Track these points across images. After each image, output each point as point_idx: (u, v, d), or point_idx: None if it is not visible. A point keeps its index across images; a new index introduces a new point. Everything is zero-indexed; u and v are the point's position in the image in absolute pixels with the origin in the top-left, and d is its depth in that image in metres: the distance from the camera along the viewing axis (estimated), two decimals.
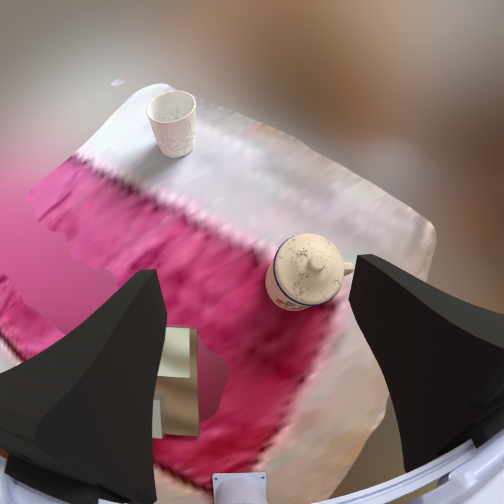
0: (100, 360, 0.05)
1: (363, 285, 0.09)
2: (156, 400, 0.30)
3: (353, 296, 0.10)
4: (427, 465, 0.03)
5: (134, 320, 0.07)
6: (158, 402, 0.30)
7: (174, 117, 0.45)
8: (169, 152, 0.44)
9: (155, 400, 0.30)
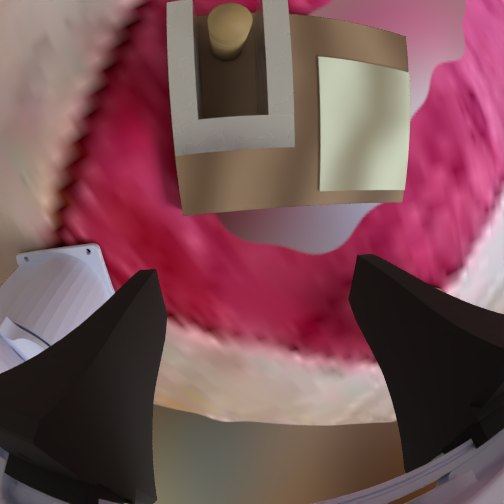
0: (100, 360, 0.05)
1: (363, 285, 0.09)
2: (292, 138, 0.12)
3: (353, 296, 0.10)
4: (427, 465, 0.03)
5: (134, 320, 0.07)
6: (287, 143, 0.12)
7: None
8: None
9: (292, 135, 0.12)
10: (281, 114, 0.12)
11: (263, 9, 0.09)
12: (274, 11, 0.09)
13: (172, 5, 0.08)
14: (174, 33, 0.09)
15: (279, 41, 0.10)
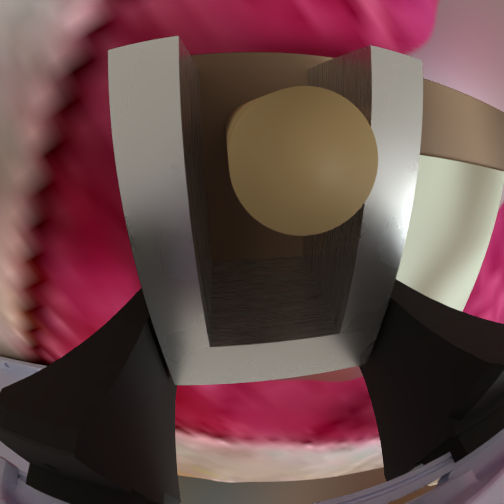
0: (131, 362, 0.05)
1: None
2: (365, 354, 0.07)
3: None
4: (427, 465, 0.03)
5: None
6: (356, 362, 0.07)
7: None
8: None
9: (366, 352, 0.07)
10: (361, 330, 0.07)
11: (371, 88, 0.04)
12: (396, 99, 0.04)
13: (122, 58, 0.03)
14: (133, 153, 0.04)
15: (395, 185, 0.05)
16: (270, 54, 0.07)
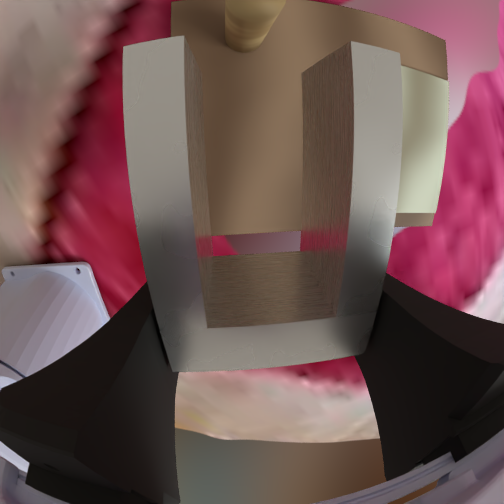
0: (131, 362, 0.05)
1: None
2: (363, 342, 0.07)
3: None
4: (427, 465, 0.03)
5: None
6: (355, 351, 0.07)
7: None
8: None
9: (364, 340, 0.07)
10: (357, 314, 0.07)
11: (353, 78, 0.04)
12: (376, 87, 0.04)
13: (136, 54, 0.04)
14: (142, 134, 0.05)
15: (381, 165, 0.05)
16: None
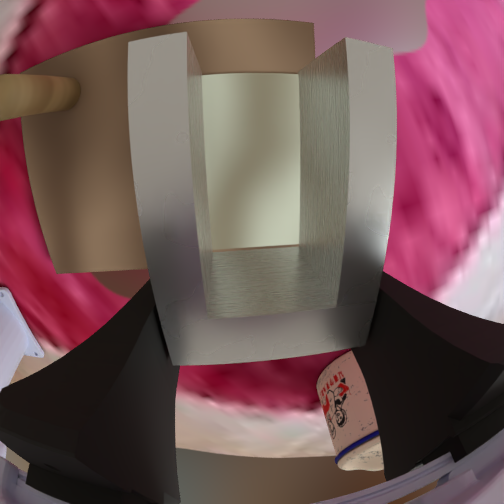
0: (131, 362, 0.05)
1: None
2: (363, 334, 0.07)
3: None
4: (427, 465, 0.03)
5: (159, 319, 0.07)
6: (355, 343, 0.07)
7: None
8: None
9: (365, 331, 0.07)
10: (357, 304, 0.07)
11: (348, 72, 0.05)
12: (370, 81, 0.05)
13: (140, 49, 0.04)
14: (146, 125, 0.05)
15: (377, 155, 0.05)
16: (73, 50, 0.09)
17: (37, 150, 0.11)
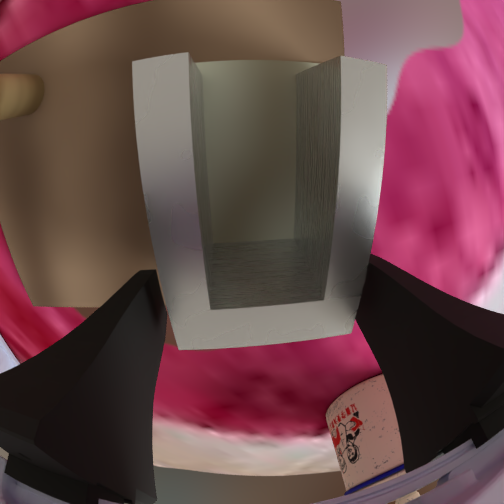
0: (100, 360, 0.05)
1: None
2: (350, 323, 0.08)
3: None
4: (427, 465, 0.03)
5: (134, 320, 0.07)
6: (342, 331, 0.09)
7: None
8: None
9: (350, 321, 0.08)
10: (343, 297, 0.08)
11: (341, 90, 0.05)
12: (362, 98, 0.05)
13: (144, 69, 0.04)
14: (152, 143, 0.05)
15: (364, 168, 0.06)
16: (38, 40, 0.06)
17: (0, 165, 0.08)
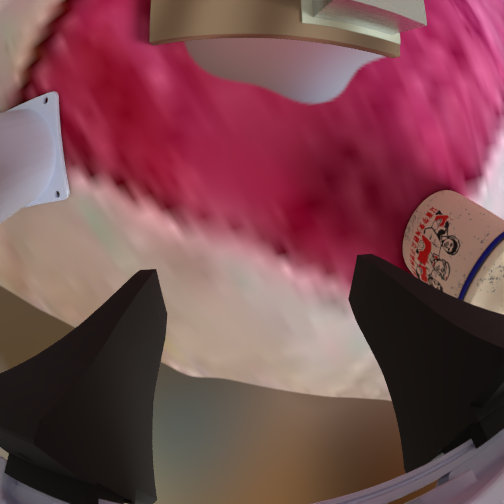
0: (100, 360, 0.05)
1: (363, 285, 0.09)
2: (424, 19, 0.09)
3: (353, 296, 0.10)
4: (427, 465, 0.03)
5: (134, 320, 0.07)
6: (422, 21, 0.09)
7: None
8: None
9: (424, 17, 0.09)
10: (416, 0, 0.08)
11: None
12: None
13: None
14: None
15: None
16: None
17: None
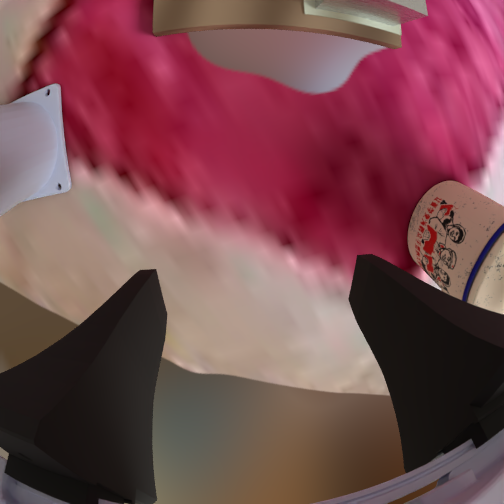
0: (100, 360, 0.05)
1: (363, 285, 0.09)
2: (424, 9, 0.08)
3: (353, 296, 0.10)
4: (427, 465, 0.03)
5: (134, 320, 0.07)
6: (422, 11, 0.08)
7: None
8: None
9: (424, 7, 0.08)
10: None
11: None
12: None
13: None
14: None
15: None
16: None
17: None
